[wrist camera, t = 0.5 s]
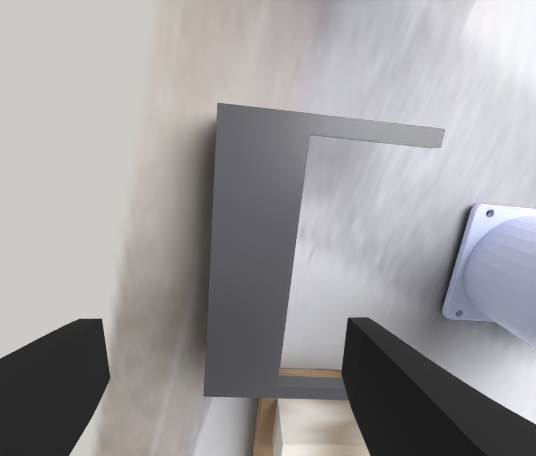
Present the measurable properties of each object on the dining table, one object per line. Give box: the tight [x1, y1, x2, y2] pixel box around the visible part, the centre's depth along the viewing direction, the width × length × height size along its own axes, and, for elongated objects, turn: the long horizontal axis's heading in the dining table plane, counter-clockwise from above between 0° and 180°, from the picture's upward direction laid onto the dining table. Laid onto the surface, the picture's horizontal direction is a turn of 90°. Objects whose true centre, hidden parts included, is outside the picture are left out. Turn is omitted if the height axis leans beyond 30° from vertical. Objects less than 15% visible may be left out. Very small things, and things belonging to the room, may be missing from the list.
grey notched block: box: [204, 103, 445, 400], centre depth 16 cm, size 10×15×4 cm, turn 174°
